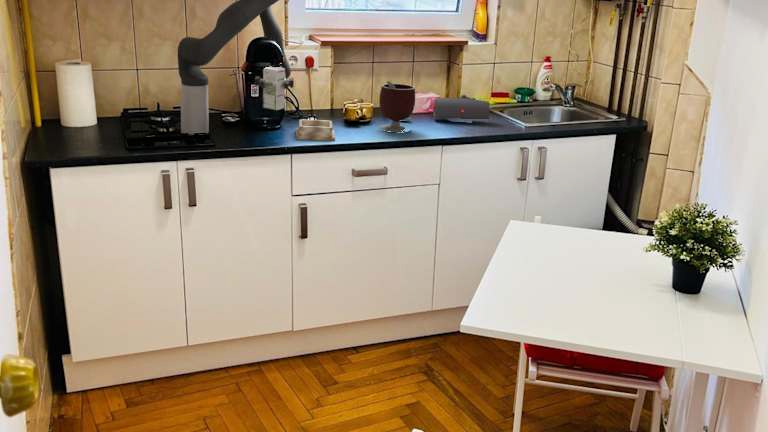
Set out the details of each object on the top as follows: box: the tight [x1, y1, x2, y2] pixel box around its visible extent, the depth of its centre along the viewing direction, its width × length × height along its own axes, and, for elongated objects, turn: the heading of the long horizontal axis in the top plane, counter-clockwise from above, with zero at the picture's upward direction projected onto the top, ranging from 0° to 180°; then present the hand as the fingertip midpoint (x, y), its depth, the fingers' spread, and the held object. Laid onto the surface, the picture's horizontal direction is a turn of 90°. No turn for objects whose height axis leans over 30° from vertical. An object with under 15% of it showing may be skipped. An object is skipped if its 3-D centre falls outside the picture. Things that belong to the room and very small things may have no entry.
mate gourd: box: [378, 80, 416, 132], centre depth 299 cm, size 16×14×20 cm
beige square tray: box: [295, 118, 336, 141], centre depth 284 cm, size 14×14×4 cm
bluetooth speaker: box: [433, 97, 491, 120], centre depth 324 cm, size 23×9×10 cm, turn 90°
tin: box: [350, 98, 364, 104], centre depth 314 cm, size 15×3×8 cm, turn 168°
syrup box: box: [262, 66, 285, 111], centre depth 273 cm, size 6×6×14 cm
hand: (273, 85), depth 271 cm, fingers closed on syrup box, 7 cm apart
